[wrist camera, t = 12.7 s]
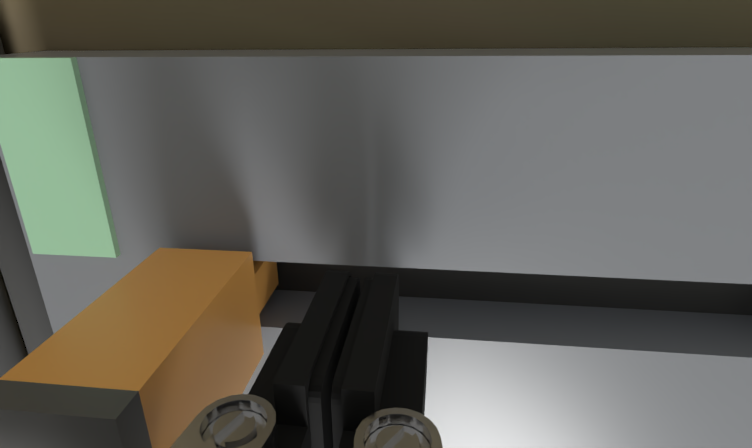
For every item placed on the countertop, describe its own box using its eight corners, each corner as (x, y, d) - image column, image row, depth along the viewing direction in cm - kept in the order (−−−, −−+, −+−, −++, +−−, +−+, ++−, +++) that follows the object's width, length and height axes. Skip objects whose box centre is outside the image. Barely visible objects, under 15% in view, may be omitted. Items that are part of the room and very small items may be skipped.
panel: (849, 453, 16) (921, 532, 13) (129, 394, 19) (83, 450, 16) (1035, 45, 11) (1193, 54, 9) (44, 50, 14) (-37, 58, 12)
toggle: (287, 309, 16) (153, 560, 8) (212, 305, 16) (21, 544, 9) (279, 218, 14) (115, 419, 7) (198, 215, 15) (-34, 405, 8)
